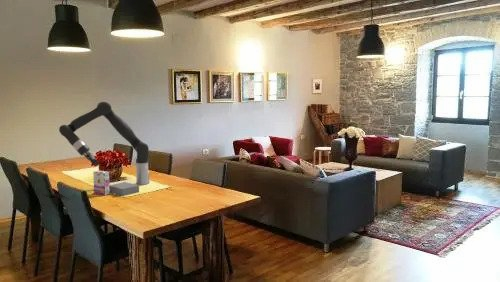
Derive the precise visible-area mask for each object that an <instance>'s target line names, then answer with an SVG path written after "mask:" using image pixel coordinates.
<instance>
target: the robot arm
mask: <svg viewBox="0 0 500 282" xmlns="http://www.w3.org/2000/svg"><path fill="white" fill-rule="evenodd" d="M102 116H103V117H104V118H105V119H106V120H108V122H109V123H110V124H111V126H112V127H113V128H114V130H115V131H116V132H117V133H118V134H120V136H121V137H122V138H123V139H125V141H127V142H128V143H129V144H130V145H131V146H132V148H133V150H134V151H135V152H136V159H135V172H136V173H135V174H136V185H139V186H141V185H142V186H145V185H148V184H150V171H149V157H150V155H149V154H150V149H149V145H148V144H147V143H145V142H143V141H142V140H141V139H140V138H138V136H136V134H135V133H134V131H133V129H132V128H131V126H130V125H129V124H128V123H127V122H126V121H124V120H123V119H122V118H121V117H120V116H118V115H117V114H116V113H115V111H114V110H113V109H112V106H111V104H110V103H109V102H107V101H100V102H98V104H97V106H96V107H95V108H94V109H92V110H91V111H89V112H86V113H85V114H82V115H80V116H78V117H76V118H75V119H73V120H71V122H70V123H69V124H67V125H66V124H62V125H60V126H59V128H58V129H59V130H58V131H59V133H60V134H61V136H62V137H64V138H65V139H66V141H68V143H69V144H70V145H71V146H72V147H73V148H74V150H75V151H77V153H78V154H79V155H80V156H84V157H85V158H86V159H87V160H88V161H90V162H91V163H92V164H93V165H97V166H98V165H100V162H99V161H98V160H97V157H96V156H94V155H93V154H92V153H91V152H90V147H89V146H88V145H87V144H86V143H85V142H84V141H83V140H82V139H81V138H80V137H79V136H78V135H77V134H76V133H75V132H76V131H77V130H79V129H81V128H82V127H84V126H86V125H87V124H89V123H91V122H92V121H94V120H95V119H98V118H100V117H102Z"/></svg>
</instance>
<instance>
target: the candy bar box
mask: <svg viewBox="0 0 500 282" xmlns="http://www.w3.org/2000/svg"><path fill="white" fill-rule="evenodd" d="M92 174H93V194H95V195H99V196H109V195H110V194H111V193H110V185H111V183H110V171H104V170H94V171H93V173H92Z"/></svg>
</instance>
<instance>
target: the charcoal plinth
mask: <svg viewBox="0 0 500 282" xmlns="http://www.w3.org/2000/svg"><path fill="white" fill-rule="evenodd" d="M136 193H140V185H138V184H135V183H131V182H128V181H127V182H126V181H124V182H118V183H114V184H110V194H115V195H117V196H122V197H125V196H128V195H133V194H136Z"/></svg>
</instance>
